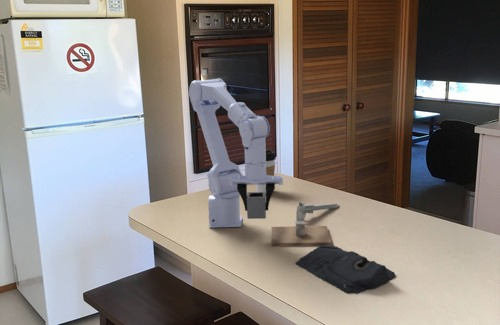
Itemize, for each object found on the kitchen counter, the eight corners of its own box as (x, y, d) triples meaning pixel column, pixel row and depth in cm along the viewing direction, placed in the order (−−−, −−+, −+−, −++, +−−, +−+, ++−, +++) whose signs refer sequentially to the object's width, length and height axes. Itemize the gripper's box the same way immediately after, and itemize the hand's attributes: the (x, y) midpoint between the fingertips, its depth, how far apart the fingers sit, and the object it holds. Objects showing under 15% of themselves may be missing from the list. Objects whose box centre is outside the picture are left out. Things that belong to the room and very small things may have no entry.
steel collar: (247, 218, 144) (246, 197, 142) (248, 212, 148) (247, 192, 147) (265, 218, 143) (265, 197, 142) (265, 212, 148) (265, 191, 147)
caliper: (299, 223, 158) (299, 203, 157) (296, 222, 159) (296, 203, 158) (339, 206, 172) (339, 188, 171) (336, 206, 173) (337, 187, 171)
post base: (271, 248, 142) (271, 230, 141) (271, 231, 153) (271, 215, 152) (331, 247, 141) (331, 230, 140) (326, 230, 153) (326, 214, 152)
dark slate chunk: (335, 249, 140) (335, 233, 138) (401, 280, 122) (402, 261, 121) (290, 265, 131) (290, 247, 130) (353, 300, 114) (354, 280, 112)
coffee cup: (251, 195, 186) (250, 153, 182) (255, 188, 194) (254, 148, 190) (274, 195, 184) (274, 154, 181) (277, 188, 193) (277, 148, 189)
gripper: (227, 166, 139) (229, 214, 142) (282, 165, 138) (283, 213, 141) (229, 159, 145) (231, 206, 149) (281, 158, 145) (282, 205, 148)
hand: (256, 209), depth 146 cm, fingers closed on steel collar, 5 cm apart
